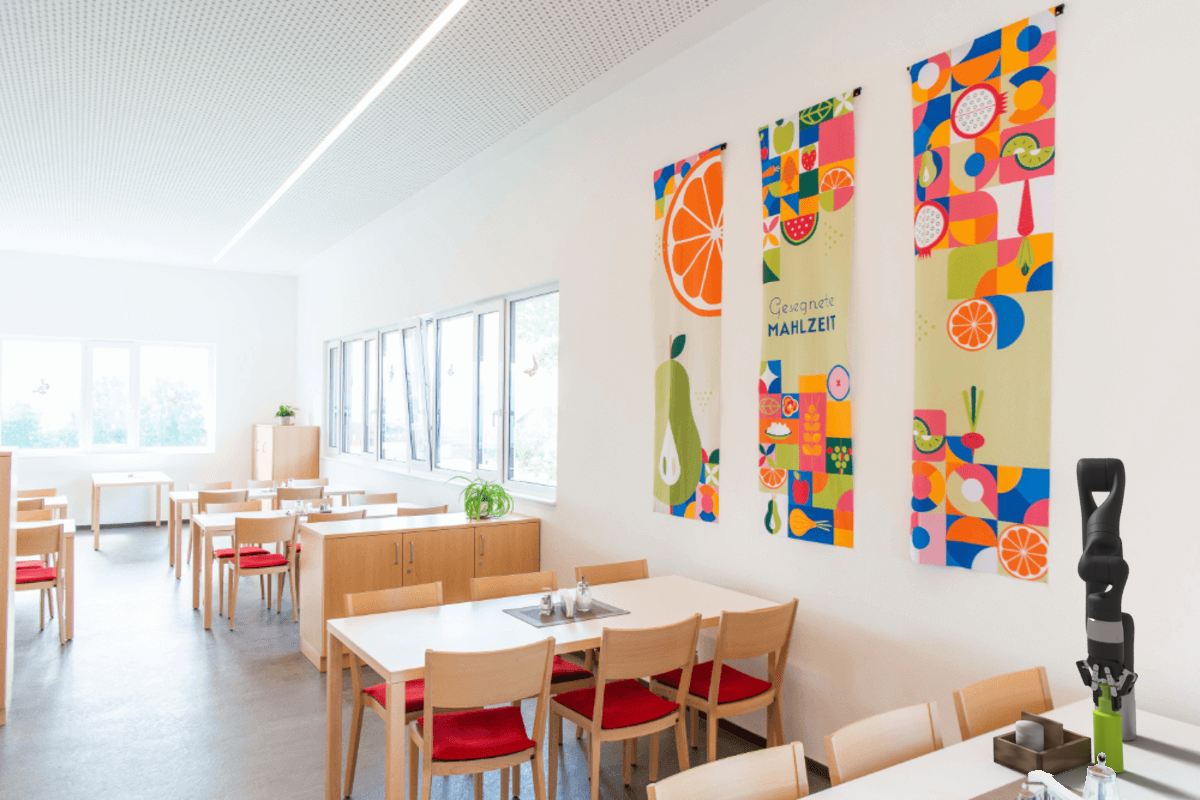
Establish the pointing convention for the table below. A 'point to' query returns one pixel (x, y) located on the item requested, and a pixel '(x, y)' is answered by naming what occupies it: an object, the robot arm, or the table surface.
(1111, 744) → the soap dispenser
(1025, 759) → the caddy
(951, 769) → the table surface
